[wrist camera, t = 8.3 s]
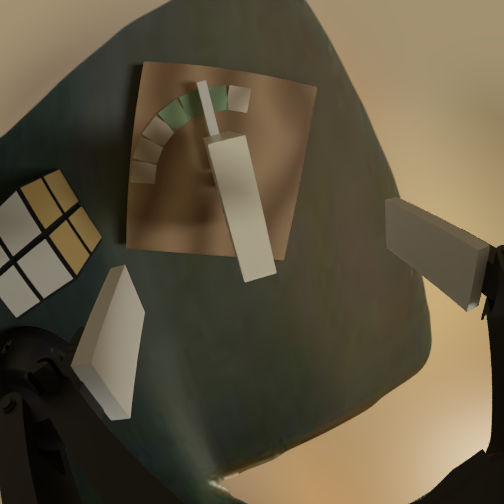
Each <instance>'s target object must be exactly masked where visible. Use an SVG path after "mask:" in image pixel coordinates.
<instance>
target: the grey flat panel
mask: <svg viewBox="0 0 504 504" xmlns="http://www.w3.org/2000/svg"><path fill="white" fill-rule="evenodd" d="M197 87H198V91H199V95H200V99H201V103H202V107H203V111H204V114H205V118H206V122H207V126H208V130H209V134H210V136H208V137H205V138H203V140H204V144H205V147H206V151H207V155H208V159H209V163H210V166H211V170H212V174H213V178H214V181H215V185H216V189H217V193H218V196H219V200H220V204H221V207H222V211H223V215H224V218H225V222H226V226H227V229H228V233H229V237H230V240H231V243H232V246H233V249H234V252H235V255H236V258H237V261H238V264H239V267H240V270H241V273H242V276H243V279H244V282H248V281H251V280H255V279H258V278H262V277H265V276H268V275H272V274H275V273H276V268H275V263H274V259H273V254H272V250H271V245H270V241H269V236H268V232H267V227H266V223H265V218H264V214H263V209H262V205H261V200H260V196H259V192H258V187H257V183H256V179H255V174H254V170H253V166H252V161H251V157H250V153H249V149H248V144H247V140H246V136H245V135H243V134H239V133H235V132H231V131H228V132H224V133H220V134H219V130H218V126H217V122H216V118H215V114H214V110H213V106H212V102H211V98H210V94H209V90H208V86H207V82H206V80H205V81H201V82H197Z"/></svg>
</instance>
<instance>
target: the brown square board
mask: <svg viewBox="0 0 504 504" xmlns="http://www.w3.org/2000/svg"><path fill="white" fill-rule="evenodd" d="M205 80H206V82H207V86H208V90H209V94H210V98H211V102H212V106H213V110H214V114H215V118H216V122H217V126H218V130H219V134H220V133H224V132H228V131H231V132H235V133H239V134H243V135H245V136H246V140H247V144H248V149H249V153H250V157H251V161H252V166H253V170H254V174H255V179H256V183H257V187H258V192H259V196H260V200H261V205H262V209H263V214H264V218H265V223H266V227H267V232H268V236H269V241H270V245H271V250H272V254H273V259H274V260H284V257H285V252H286V247H287V243H288V238H289V233H290V228H291V224H292V219H293V214H294V209H295V204H296V199H297V194H298V189H299V184H300V179H301V173H302V168H303V163H304V158H305V152H306V147H307V142H308V136H309V131H310V125H311V120H312V114H313V108H314V102H315V97H316V91H317V87H314V86H310V85H306V84H302V83H298V82H293V81H289V80H284V79H280V78H275V77H270V76H265V75H260V74H254V73H249V72H243V71H237V70H230V69H223V68H216V67H208V66H199V65H189V64H178V63H164V62H144V64H143V69H142V75H141V81H140V87H139V93H138V100H137V107H136V114H135V122H134V130H133V139H132V148H131V159H130V171H129V185H128V203H127V234H126V248H127V249H140V250H153V251H166V252H179V253H192V254H205V255H219V256H232V257H236V255H235V252H234V249H233V246H232V243H231V240H230V237H229V233H228V229H227V226H226V222H225V218H224V215H223V211H222V207H221V204H220V200H219V196H218V193H217V189H216V185H215V181H214V178H213V174H212V170H211V166H210V163H209V159H208V155H207V151H206V147H205V144H204V140H203V138H205V137H208V136H210V134H209V130H208V126H207V122H206V118H205V114H204V111H203V107H202V103H201V99H200V95H199V91H198V87H197V82H201V81H205Z"/></svg>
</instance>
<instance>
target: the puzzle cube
mask: <svg viewBox="0 0 504 504" xmlns="http://www.w3.org/2000/svg"><path fill="white" fill-rule="evenodd" d="M78 202H79V201H78V199H77V198H76V196H75V195H74V193H73V191H72V190H71V188H70V186H69V185H68V183H67V181H66V180H65V178H64V176H63V174H62V173H61V171H60V169H54V170H52V171H50V172H47V173H45V174H43V175H41V176H39V177H37V178H35V179H32V180H30V181H28V182H26V183H24V184H22V185H20V186H17V187H16V188H15V189H14V190H13V191H12V192H11V193H10V194H9V195H7V196H6V197H5V198H4V199H3V200H2V201H1V202H0V298H1V299H2V300H3V302H4V303H5V304H6V305H7V307H8V308H9V309H10V311H11V312H12V313H13V314H14V316H15V317H16V318H19V319H20V318H21V317H22V316H24V315H25V314H27V313H28V312H30V311H31V310H32V309H34V308H35V307H37V306H38V305H40V304H41V303H43V301H44V300H45V299H48V298H50V297H51V296H53V295H54V294H56V293H57V292H59V291H60V290H62V289H63V288H65V287H66V286H68V285H69V284H71V283H72V282H74V281H75V280H77V278H78V277H79V275H80V273H81V272H82V270H83V268H84V267H85V265H86V264H87V262H88V261H89V258H90V257H91V256H92V255H93V253H94V251H95V250H96V248H97V247H98V245H99V244H100V242H101V240H102V237H101V235H100V234H99V232H98V231H97V229H96V228H95V226H94V225H93V223H92V222H91V220H90V219H89V217H88V215H87V214H86V212H85V211H84V209H83V208H82V206H79V205H78ZM77 205H78V206H77Z"/></svg>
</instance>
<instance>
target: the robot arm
mask: <svg viewBox="0 0 504 504" xmlns="http://www.w3.org/2000/svg"><path fill="white" fill-rule="evenodd" d="M385 214H386V248H387V249H388V250H390V251H391V252H392V253H394V254H395V255H396V256H398V257H399V258H400V259H402V260H403V261H404V262H406V263H407V264H408V265H410V266H411V267H412V268H414V269H415V270H416V271H417V272H419V273H420V274H421V275H422V276H424V277H425V278H426V279H428V280H429V281H430V282H431V283H433V284H434V285H435V286H436V287H438V288H439V289H440V290H441V291H443V292H444V293H445V294H446V295H447V296H449V297H450V298H451V299H452V300H453V301H455V302H456V303H457V304H458V305H459V306H461V307H462V308H463V309H464V310H465V311H466V312H467V311H469V310H471V309H473V308H475V307H477V306H478V305H479V301H480V297H481V292H482V293H483V294H484V295H485V296H487V298H486V302H485V306H484V310H483V313H482V318H481V320H483V319H484V316H485V315H487V322H488V331H489V341H490V351H491V367H492V429H491V439H490V443H489V446H488V448H487V451H486V453H485V452H484V450H483V449H482V450H480V451H479V452H478V453H476V454H475V455H474V456H472V457H471V458H470V459H468V460H467V461H465V462H464V463H462V464H461V465H459V466H458V467H456V468H455V469H453V470H452V471H451V472H450V473H449V474H448V475H447V476H446V477H445V478H444V479H443V480H442V481H441V482H440V483H439V484H438V485H437V486H436V487H435V488H434V489H433V490H432V491H430V492H429V493H428V494H427V495H426V496H425V497H424V498H423V499H421V500H419V501H417V502H413V503H410V504H504V245H501V246H498V247H497V248H495V247H493V246H492V245H490V244H488V243H486V242H485V241H483V240H481V239H479V238H477V237H476V236H474V235H472V234H470V233H469V232H466V231H465V230H463V229H460V228H458V227H456V226H454V225H452V224H450V223H449V222H447V221H445V220H443V219H441V218H439V217H437V216H435V215H433V214H431V213H429V212H427V211H425V210H423V209H421V208H419V207H417V206H415V205H413V204H410V203H408V202H406V201H404V200H402V199H400V198H398V197H394V198H390V199H386V200H385ZM144 315H145V311H144V309H143V307H142V305H141V302H140V300H139V298H138V295H137V293H136V290H135V288H134V286H133V283H132V281H131V278H130V276H129V273H128V271H127V268H126V265H122V266H118V267H114V268H111V269H110V271H109V273H108V276H107V278H106V280H105V282H104V284H103V287H102V289H101V291H100V293H99V296H98V298H97V300H96V303H95V305H94V307H93V310H92V312H91V314H90V317H89V319H88V322H87V324H86V326H84V327H80V328H79V329H78V330H77V331H76V333H75V334H74V335H73V336H72V339H71V341H70V344H68V343H66V342H65V341H64V340H62V339H61V338H59V337H57V336H56V335H54V334H52V333H50V332H48V331H45V330H42V329H38V328H33V327H23V328H19V329H16V330H15V331H13V332H12V333H11V334H10V335H9V337H8V339H7V340H6V342H5V344H4V346H3V349H2V354H1V362H0V491H1V498H2V504H83V503H82V500H81V497H80V495H79V492H78V489H77V486H76V483H75V480H74V477H73V474H72V471H71V468H70V465H69V462H68V458H67V455H66V451H65V448H66V447H67V449H68V451H69V452H70V454H71V455H72V457H73V458H74V460H75V462H76V463H77V465H78V466H79V468H80V469H81V471H82V472H83V473H84V475H85V476H86V478H87V479H88V481H89V482H90V483H91V485H92V486H93V487H94V489H95V490H96V491H97V493H98V494H99V495H100V497H101V498H102V499H103V501H104V502H105V503H106V504H186V503H184V502H183V501H182V500H181V499H180V498H178V497H177V496H176V495H175V494H174V493H173V492H172V491H170V490H169V489H168V488H167V487H166V486H165V485H164V484H163V483H162V482H160V481H159V480H158V479H157V478H156V477H155V476H154V475H153V474H152V473H151V472H150V471H149V470H148V469H147V468H146V467H145V466H144V465H143V464H142V463H141V462H140V461H139V460H138V459H137V458H136V457H135V456H134V455H133V454H132V453H131V452H130V451H129V450H128V449H127V448H126V447H125V445H124V444H123V443H122V442H121V441H120V440H119V439H118V438H117V437H116V436H115V434H114V433H113V432H112V431H111V430H110V429H109V427H108V426H107V425H106V424H105V423H104V422H103V420H102V416H103V411H104V412H105V413H106V414H107V416H108V417H109V418H110V419H111V420H120V419H128V418H130V416H131V406H132V397H133V389H134V381H135V373H136V365H137V358H138V352H139V345H140V339H141V332H142V326H143V321H144Z"/></svg>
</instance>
